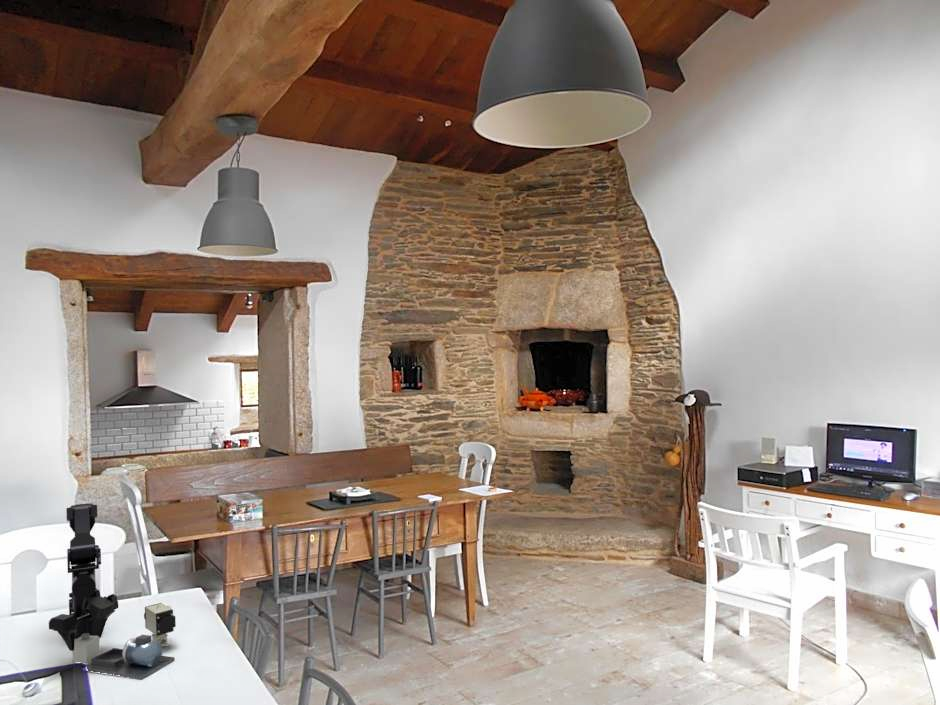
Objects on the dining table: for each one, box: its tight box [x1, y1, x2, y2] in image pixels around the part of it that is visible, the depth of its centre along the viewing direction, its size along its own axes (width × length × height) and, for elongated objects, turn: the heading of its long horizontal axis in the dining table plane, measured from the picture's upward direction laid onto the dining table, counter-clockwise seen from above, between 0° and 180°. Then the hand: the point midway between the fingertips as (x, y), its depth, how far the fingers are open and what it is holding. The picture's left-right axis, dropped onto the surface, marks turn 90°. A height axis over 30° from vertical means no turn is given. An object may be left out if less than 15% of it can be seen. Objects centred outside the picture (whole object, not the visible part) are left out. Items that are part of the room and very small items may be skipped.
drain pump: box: [71, 633, 101, 665], centre depth 204 cm, size 5×4×7 cm
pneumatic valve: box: [143, 602, 177, 648], centre depth 213 cm, size 6×12×12 cm, turn 44°
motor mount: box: [85, 634, 176, 681], centre depth 199 cm, size 20×12×8 cm, turn 71°
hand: (85, 644), depth 204 cm, fingers open, 9 cm apart
